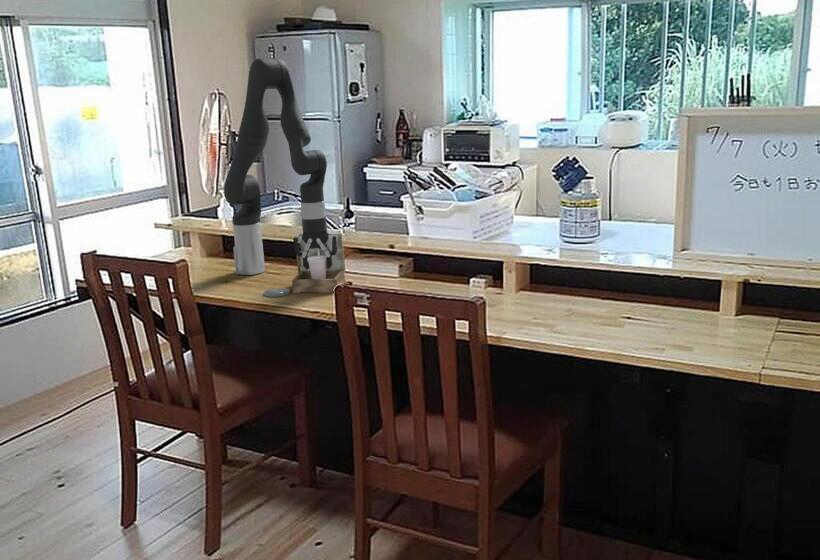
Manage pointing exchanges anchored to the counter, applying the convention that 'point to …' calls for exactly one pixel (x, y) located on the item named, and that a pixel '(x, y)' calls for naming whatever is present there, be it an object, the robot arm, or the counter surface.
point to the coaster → (276, 292)
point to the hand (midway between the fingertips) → (318, 268)
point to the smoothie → (317, 266)
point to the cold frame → (333, 275)
